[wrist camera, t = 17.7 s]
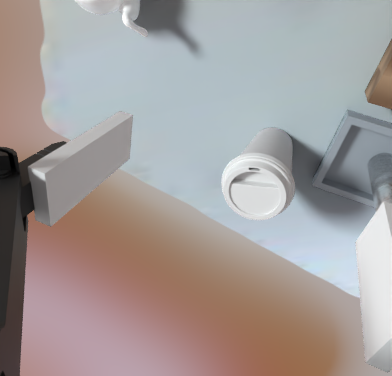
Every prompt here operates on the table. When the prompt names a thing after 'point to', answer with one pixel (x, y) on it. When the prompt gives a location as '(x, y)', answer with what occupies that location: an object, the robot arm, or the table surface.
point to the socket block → (382, 82)
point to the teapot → (108, 3)
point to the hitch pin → (381, 178)
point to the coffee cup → (261, 176)
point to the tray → (353, 157)
